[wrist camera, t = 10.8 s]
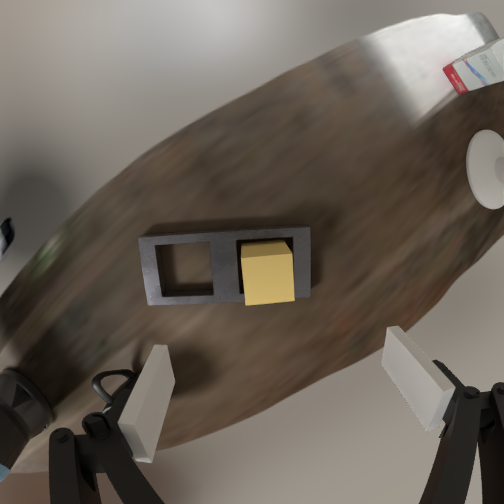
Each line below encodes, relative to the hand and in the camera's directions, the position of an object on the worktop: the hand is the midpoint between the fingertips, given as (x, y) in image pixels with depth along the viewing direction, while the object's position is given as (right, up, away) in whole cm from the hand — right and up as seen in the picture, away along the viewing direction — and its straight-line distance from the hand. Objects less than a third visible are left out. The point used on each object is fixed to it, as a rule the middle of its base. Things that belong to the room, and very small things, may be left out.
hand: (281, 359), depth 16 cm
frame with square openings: (-5, +5, +20) cm, 21 cm away
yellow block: (0, +5, +20) cm, 21 cm away
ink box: (+31, +34, +14) cm, 48 cm away
